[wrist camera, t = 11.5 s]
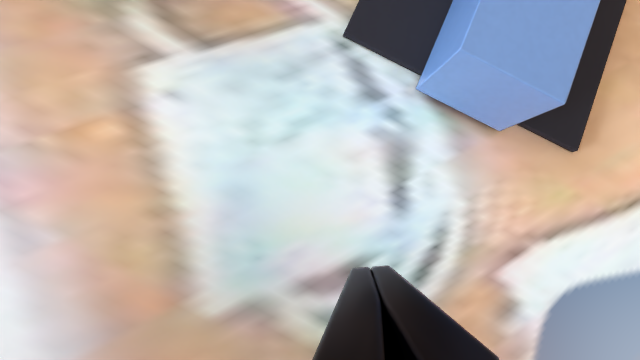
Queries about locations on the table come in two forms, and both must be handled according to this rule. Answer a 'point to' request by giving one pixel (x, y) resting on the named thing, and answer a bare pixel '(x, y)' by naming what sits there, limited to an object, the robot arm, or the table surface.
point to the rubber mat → (424, 27)
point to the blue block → (507, 57)
